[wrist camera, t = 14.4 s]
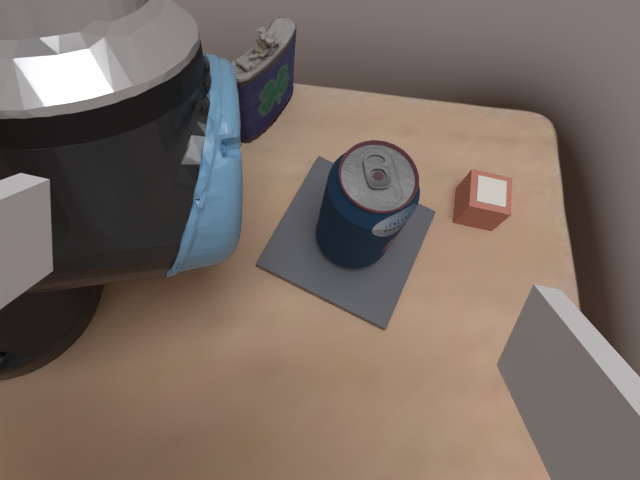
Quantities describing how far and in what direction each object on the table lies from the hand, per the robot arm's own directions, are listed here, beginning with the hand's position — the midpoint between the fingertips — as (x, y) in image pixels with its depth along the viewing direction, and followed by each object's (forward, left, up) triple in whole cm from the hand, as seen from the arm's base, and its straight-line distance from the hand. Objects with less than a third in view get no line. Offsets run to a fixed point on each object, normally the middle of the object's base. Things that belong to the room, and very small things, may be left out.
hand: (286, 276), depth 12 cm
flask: (-13, +23, -28) cm, 38 cm away
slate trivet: (+1, +14, -28) cm, 31 cm away
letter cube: (+11, +23, -28) cm, 38 cm away
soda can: (+1, +14, -27) cm, 30 cm away
